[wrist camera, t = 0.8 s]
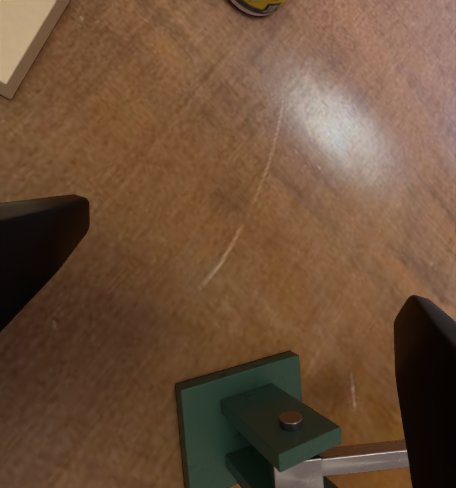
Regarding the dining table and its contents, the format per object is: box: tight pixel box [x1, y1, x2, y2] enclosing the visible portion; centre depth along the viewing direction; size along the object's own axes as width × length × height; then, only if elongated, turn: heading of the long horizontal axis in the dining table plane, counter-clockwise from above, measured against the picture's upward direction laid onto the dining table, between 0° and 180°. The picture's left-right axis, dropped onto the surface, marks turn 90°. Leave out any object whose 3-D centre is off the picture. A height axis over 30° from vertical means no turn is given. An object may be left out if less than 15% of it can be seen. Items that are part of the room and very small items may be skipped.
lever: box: [269, 440, 409, 488], centre depth 21 cm, size 13×3×3 cm, turn 95°
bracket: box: [175, 351, 341, 488], centre depth 23 cm, size 10×8×8 cm
